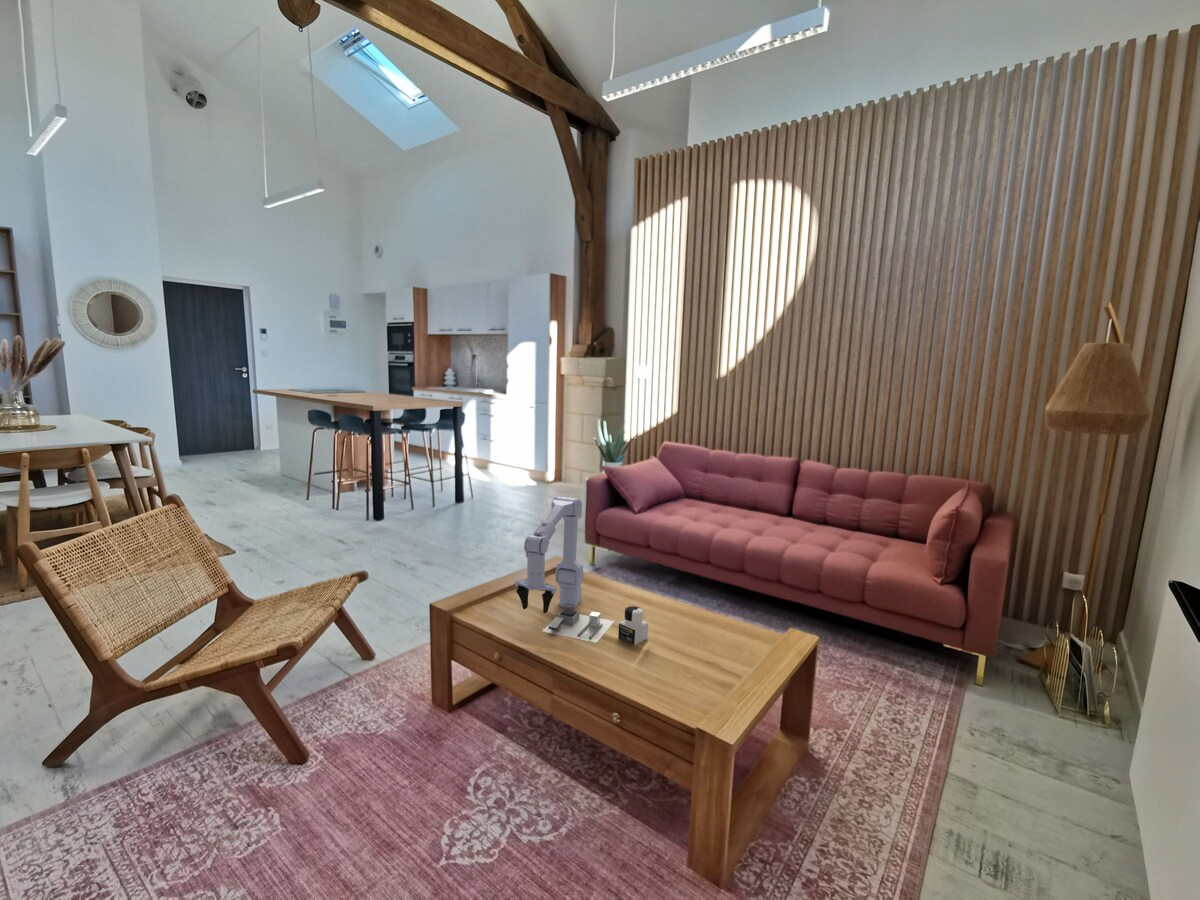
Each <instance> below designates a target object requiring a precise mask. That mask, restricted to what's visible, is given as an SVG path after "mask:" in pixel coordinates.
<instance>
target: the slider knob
mask: <svg viewBox="0 0 1200 900" xmlns="http://www.w3.org/2000/svg"><path fill="white" fill-rule="evenodd" d="M588 616H589V626H592V627H598V626H599V625H600V618H601V612H598V611H597V612H596V611H592V612H590V614H589V615H588Z"/></svg>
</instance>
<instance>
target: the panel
mask: <svg viewBox="0 0 1200 900" xmlns="http://www.w3.org/2000/svg"><path fill="white" fill-rule="evenodd" d="M556 617H560V618H564V621H563V623H562V624H561V625H560V627H559V628H558V629H557V631H556V630H551V629H549V627H548V626H549V625H550V624H551V622H550V623H549V624H548V625H547V626H546V627H545V628H544V629H542V631H541V633H547V634H553V635H556V636H563V637H566V638H567V637H568V638H571V639H576V640H581V641H584V642H585V641H586V642H591V643H595V644H596V643H598V642H599V640H601V638H602V637H603V636H604V634H605V633H606V632H607V631H608V630H609V629H610V628H611V626H612V625H613V624H614V622H615V620H611V619H605V618H601V617H600V625H599V626H598V627H592V626H589V615H585V614H580V611H579V610H575V609H574V616H573V617H569V616H564V615H563V609H562V610H561V611H560V612H559V613H558V614H556Z"/></svg>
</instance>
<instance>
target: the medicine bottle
mask: <svg viewBox="0 0 1200 900" xmlns="http://www.w3.org/2000/svg"><path fill="white" fill-rule="evenodd" d="M648 633H649V623H648V622H647V621H644V610H643V609H642V607H640V606H639V607H638V606H636V605H635V606H633V605H632V606H627V607H626V608H625V609H624V620H621V621H619V622H618V633H617V635H618V637H617V638H618V639H619V640H621V641H623V642H626V643H628V644H630V645H632V646H636V645H638V644H640V643H642V642H644V641H646V640H647V639H648ZM645 643H648V641H646V642H645Z"/></svg>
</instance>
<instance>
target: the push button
mask: <svg viewBox="0 0 1200 900" xmlns="http://www.w3.org/2000/svg"><path fill="white" fill-rule="evenodd" d="M562 610H563V615H564V616H569V617H573V616H574V610H575V607H574V605H573V604H564V605H563V607H562Z"/></svg>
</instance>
